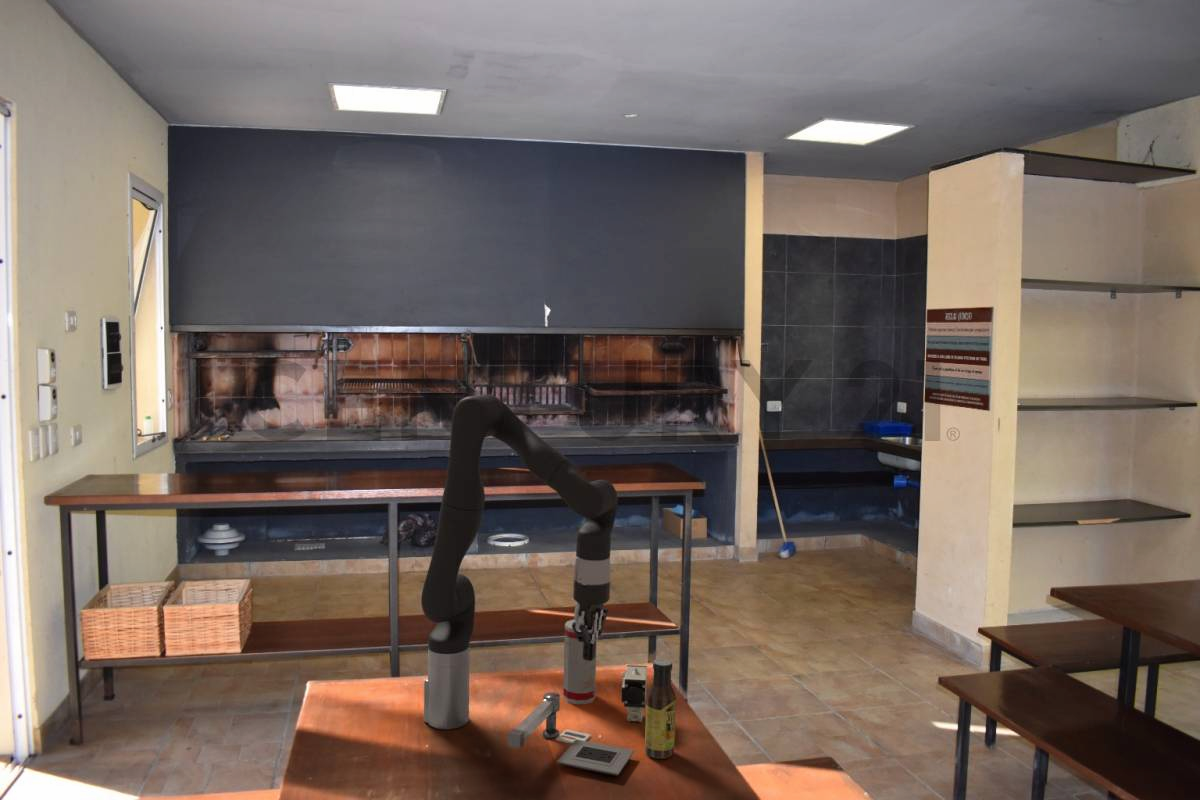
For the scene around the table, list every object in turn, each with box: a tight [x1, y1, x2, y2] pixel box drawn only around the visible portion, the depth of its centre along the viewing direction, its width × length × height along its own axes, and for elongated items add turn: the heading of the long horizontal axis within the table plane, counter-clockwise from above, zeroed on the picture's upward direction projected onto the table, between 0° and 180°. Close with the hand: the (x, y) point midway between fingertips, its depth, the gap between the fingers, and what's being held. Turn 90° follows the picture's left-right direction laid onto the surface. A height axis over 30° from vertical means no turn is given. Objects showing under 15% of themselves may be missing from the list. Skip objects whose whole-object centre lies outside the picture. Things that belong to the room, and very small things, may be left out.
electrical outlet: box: [556, 739, 635, 777], centre depth 185 cm, size 13×10×2 cm
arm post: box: [542, 712, 560, 740], centre depth 197 cm, size 4×4×6 cm
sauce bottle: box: [644, 658, 677, 760], centre depth 189 cm, size 6×6×20 cm
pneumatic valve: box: [621, 664, 648, 723], centre depth 206 cm, size 6×12×12 cm, turn 175°
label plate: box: [555, 728, 592, 745], centre depth 196 cm, size 6×5×1 cm
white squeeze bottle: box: [562, 602, 598, 705], centre depth 216 cm, size 8×8×25 cm
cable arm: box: [507, 692, 561, 750], centre depth 188 cm, size 21×4×3 cm, turn 161°
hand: (588, 659), depth 186 cm, fingers closed
